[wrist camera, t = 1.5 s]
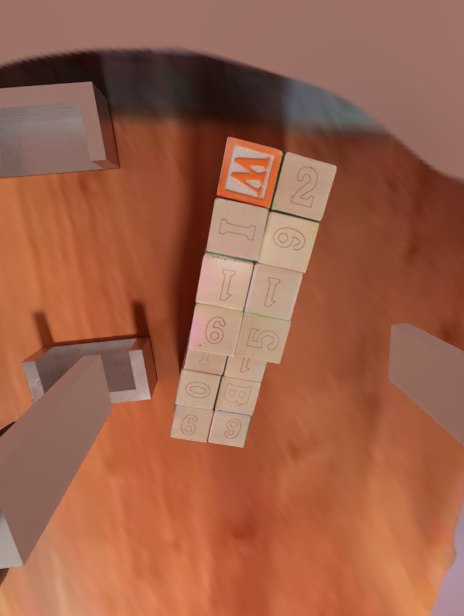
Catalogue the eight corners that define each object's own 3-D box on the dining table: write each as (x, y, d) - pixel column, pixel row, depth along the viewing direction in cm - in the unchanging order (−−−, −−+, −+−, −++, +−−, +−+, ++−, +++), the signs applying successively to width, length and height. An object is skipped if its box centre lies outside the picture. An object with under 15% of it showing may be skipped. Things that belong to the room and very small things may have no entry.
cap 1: (108, 101, 25) (91, 81, 21) (120, 168, 26) (106, 159, 23) (-25, 111, 24) (-62, 93, 21) (-5, 178, 26) (-38, 171, 23)
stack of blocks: (235, 389, 33) (246, 480, 21) (179, 379, 32) (159, 468, 20) (286, 190, 28) (341, 163, 16) (221, 173, 27) (228, 131, 15)
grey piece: (55, 391, 32) (36, 411, 28) (42, 347, 30) (21, 362, 27) (157, 380, 32) (150, 398, 29) (149, 336, 31) (141, 349, 27)
